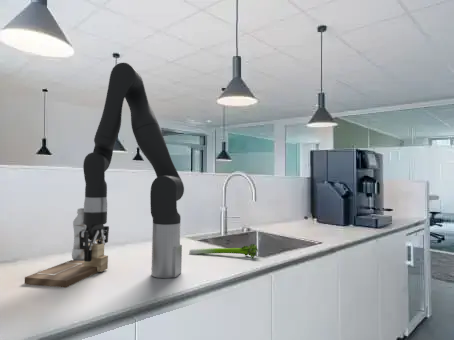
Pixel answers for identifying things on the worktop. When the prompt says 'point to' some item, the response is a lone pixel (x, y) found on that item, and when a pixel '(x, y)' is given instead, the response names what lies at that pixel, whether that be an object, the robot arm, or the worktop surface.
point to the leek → (227, 250)
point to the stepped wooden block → (98, 258)
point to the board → (62, 274)
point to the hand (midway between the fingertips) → (94, 258)
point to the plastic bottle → (78, 226)
